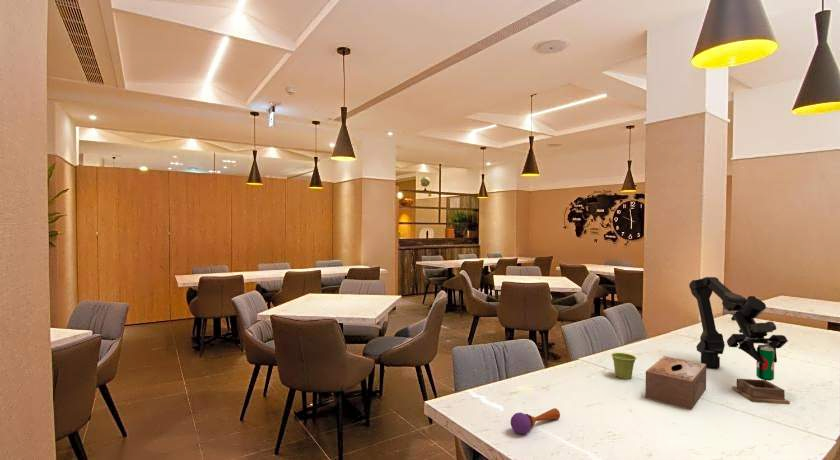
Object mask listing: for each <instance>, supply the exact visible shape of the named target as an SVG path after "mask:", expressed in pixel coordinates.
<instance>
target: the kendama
mask: <svg viewBox="0 0 840 460" xmlns="http://www.w3.org/2000/svg"><path fill="white" fill-rule="evenodd" d="M560 418H561V412H560V411H559V409H558V408H555V407H554V408H552V409H549V410H547V411H545V412H543V413H541V414H538V415H537V416H533V415H530V414H528V413H523V412H522V411H521V412H516V413H514V414H513V415H512V416H511V418H510V426H511V428H512V430H513V432H514V433H517V434H518V435H525V434H527V433H529V431H530V430H531V429H532V428H533V427H534V425H535V424H536V422H541V421H552V420H560Z"/></svg>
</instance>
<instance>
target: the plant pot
mask: <svg viewBox="0 0 840 460" xmlns="http://www.w3.org/2000/svg"><path fill="white" fill-rule="evenodd" d="M611 357H612V360H613V365H614V366H613V367H614V373H615V377H618V378H620V379H623V380H624V379H625V380H629V379H632V376H633V372H634V371H633V370H634V365H635V361H636V360H637V357H636V356H635V355H633V354H629V353H625V352H613V353H611Z"/></svg>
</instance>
